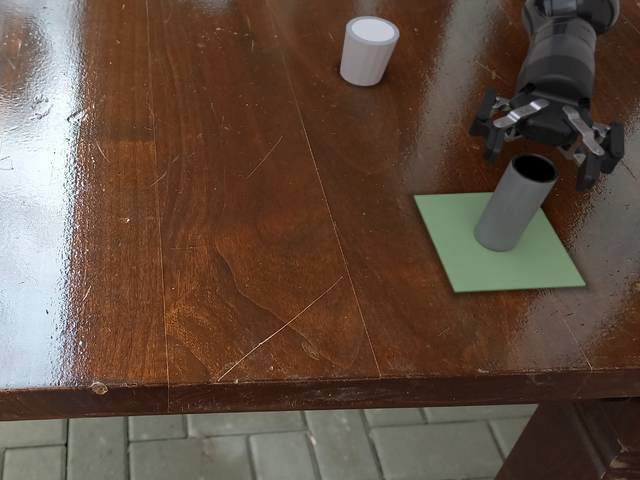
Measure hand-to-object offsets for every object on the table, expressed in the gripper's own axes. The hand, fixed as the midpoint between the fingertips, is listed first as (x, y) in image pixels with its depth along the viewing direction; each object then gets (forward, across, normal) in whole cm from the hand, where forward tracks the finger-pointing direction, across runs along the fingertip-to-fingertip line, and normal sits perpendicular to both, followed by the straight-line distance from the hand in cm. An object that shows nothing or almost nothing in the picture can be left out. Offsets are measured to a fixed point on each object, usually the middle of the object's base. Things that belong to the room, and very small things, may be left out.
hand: (537, 172), depth 68 cm
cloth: (0, 0, +10) cm, 10 cm away
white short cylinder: (-24, -22, +10) cm, 34 cm away
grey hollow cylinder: (0, 0, +10) cm, 10 cm away
